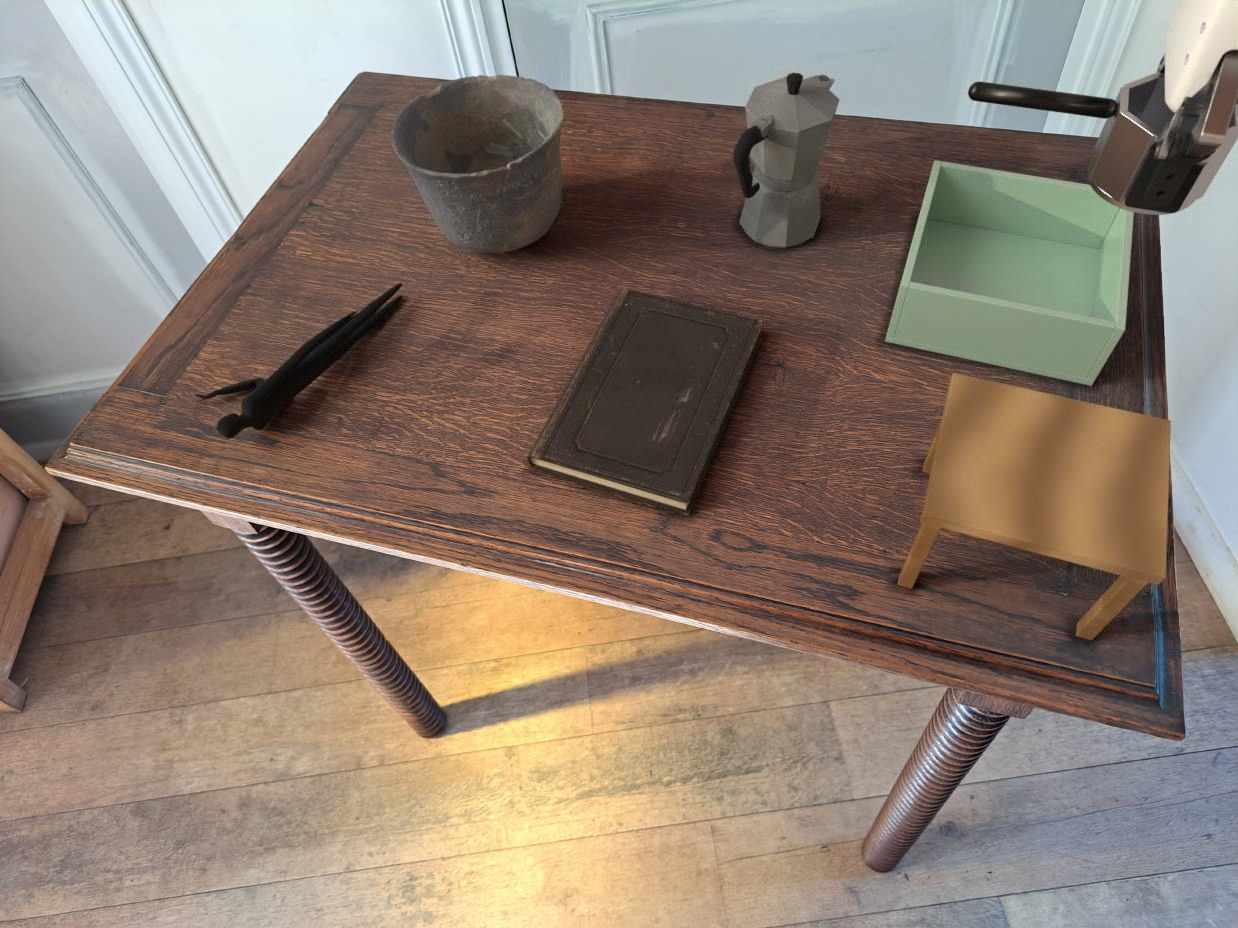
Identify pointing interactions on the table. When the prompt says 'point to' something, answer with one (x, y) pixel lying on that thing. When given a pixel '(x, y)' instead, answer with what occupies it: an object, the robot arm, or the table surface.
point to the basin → (1015, 273)
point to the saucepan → (1118, 131)
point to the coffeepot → (784, 158)
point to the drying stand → (1050, 485)
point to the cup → (485, 159)
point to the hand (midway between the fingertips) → (1151, 168)
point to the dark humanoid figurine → (301, 367)
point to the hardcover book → (649, 400)
